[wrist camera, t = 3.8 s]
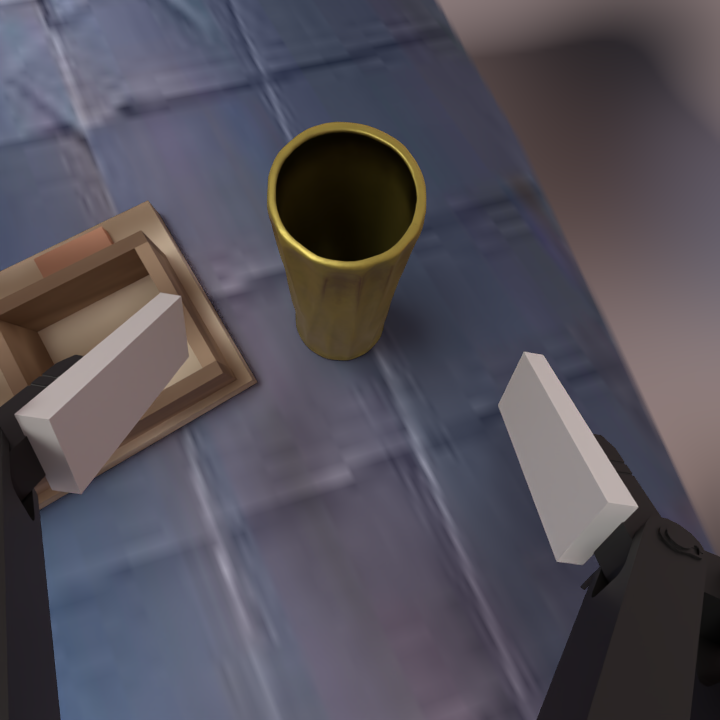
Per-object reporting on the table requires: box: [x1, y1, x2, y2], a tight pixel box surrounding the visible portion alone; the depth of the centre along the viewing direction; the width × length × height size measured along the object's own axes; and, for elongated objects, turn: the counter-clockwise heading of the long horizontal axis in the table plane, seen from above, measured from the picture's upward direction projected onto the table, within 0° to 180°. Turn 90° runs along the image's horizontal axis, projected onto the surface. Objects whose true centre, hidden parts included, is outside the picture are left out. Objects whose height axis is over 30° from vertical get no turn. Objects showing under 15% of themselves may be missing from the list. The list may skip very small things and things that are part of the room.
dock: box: [0, 201, 257, 510], centre depth 22 cm, size 14×20×4 cm
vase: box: [267, 122, 426, 360], centre depth 19 cm, size 6×6×14 cm
